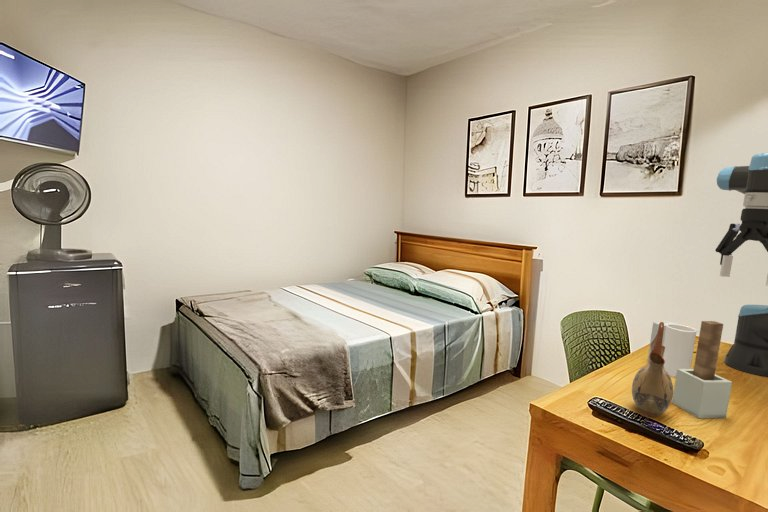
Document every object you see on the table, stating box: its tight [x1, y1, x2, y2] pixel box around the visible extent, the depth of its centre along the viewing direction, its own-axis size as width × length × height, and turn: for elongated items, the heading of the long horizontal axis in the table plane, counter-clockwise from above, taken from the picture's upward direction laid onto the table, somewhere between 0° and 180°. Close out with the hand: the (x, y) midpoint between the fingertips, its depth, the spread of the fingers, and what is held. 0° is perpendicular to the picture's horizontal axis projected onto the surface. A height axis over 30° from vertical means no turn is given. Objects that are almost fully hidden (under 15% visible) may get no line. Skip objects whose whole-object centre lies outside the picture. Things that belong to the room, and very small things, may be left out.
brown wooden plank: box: [693, 320, 724, 380], centre depth 111 cm, size 4×2×24 cm, turn 98°
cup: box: [663, 323, 697, 378], centre depth 137 cm, size 8×8×16 cm
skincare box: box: [647, 320, 681, 362], centre depth 145 cm, size 8×6×15 cm
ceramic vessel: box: [631, 321, 674, 418], centre depth 108 cm, size 16×9×25 cm, turn 146°
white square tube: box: [671, 368, 733, 419], centre depth 112 cm, size 8×8×10 cm
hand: (746, 280), depth 121 cm, fingers open, 13 cm apart
